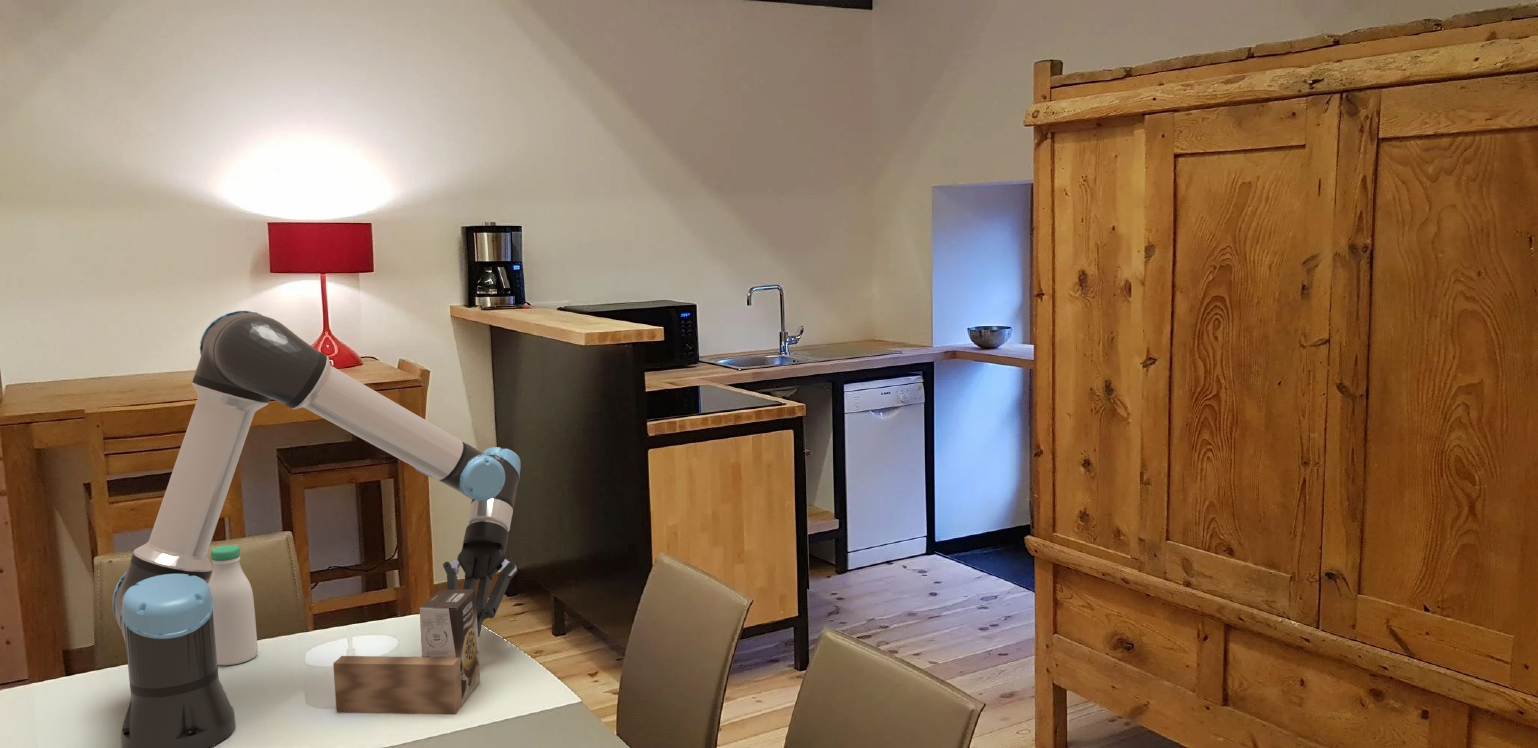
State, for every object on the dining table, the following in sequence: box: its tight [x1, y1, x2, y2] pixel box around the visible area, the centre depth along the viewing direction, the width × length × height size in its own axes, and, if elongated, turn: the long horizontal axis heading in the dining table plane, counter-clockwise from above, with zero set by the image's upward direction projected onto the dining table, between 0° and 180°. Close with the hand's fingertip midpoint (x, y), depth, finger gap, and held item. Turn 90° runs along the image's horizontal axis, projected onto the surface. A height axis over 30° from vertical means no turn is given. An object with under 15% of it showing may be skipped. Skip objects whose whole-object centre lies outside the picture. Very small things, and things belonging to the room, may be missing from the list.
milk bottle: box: [208, 544, 259, 666], centre depth 199 cm, size 8×8×20 cm
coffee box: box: [419, 588, 481, 705], centre depth 183 cm, size 9×6×16 cm
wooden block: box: [332, 655, 463, 715], centre depth 178 cm, size 19×3×8 cm, turn 86°
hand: (463, 655), depth 189 cm, fingers closed
